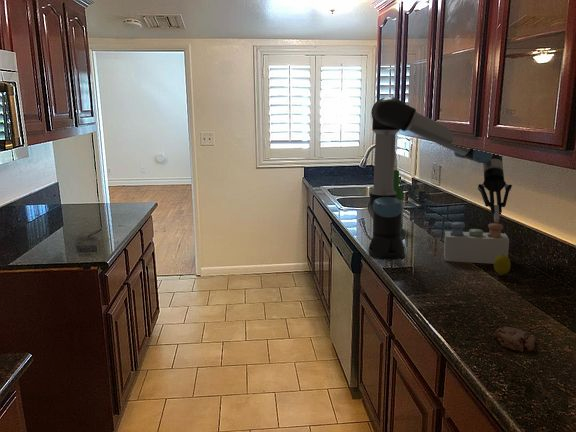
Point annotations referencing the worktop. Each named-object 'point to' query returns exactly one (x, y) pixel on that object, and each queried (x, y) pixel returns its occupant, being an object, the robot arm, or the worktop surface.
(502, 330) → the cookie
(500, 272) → the lemon
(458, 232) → the button blue
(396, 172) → the wine bottle
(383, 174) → the robot arm
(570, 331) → the worktop surface
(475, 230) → the button green
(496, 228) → the button terracotta
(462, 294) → the worktop surface
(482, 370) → the worktop surface
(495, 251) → the console
